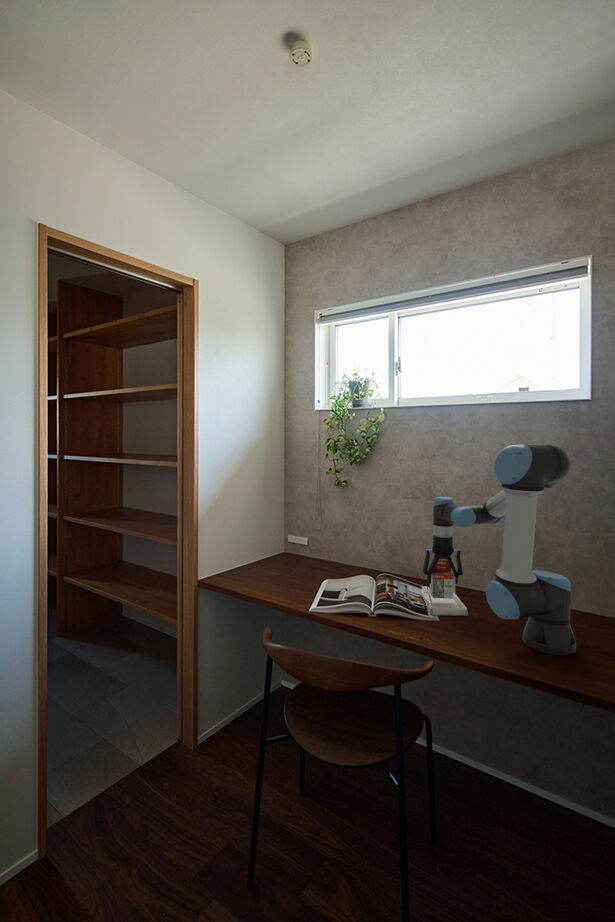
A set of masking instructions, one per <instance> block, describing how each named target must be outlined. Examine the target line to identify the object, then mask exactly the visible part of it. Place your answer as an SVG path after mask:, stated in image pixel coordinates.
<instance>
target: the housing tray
mask: <svg viewBox="0 0 615 922" xmlns="http://www.w3.org/2000/svg"><path fill="white" fill-rule="evenodd" d="M420 593H421V595H422V597H423V599H424V601H425V603H426V605H427V607H428V609H429V611H428V612H430V613H429V615H430V616H454V617H460V616H462V617H463V616H464V617H467V616H468V613H469V612H468V608H467V607H466V605H465V604H464V603H463V602H462V600H461V599H460V598H459V597H458V596H457V594H456V592H455V593H453V599H449V598H433V596H432V592H431V591H430V589H420V590H419V594H420ZM424 593H427V594H431V599H432V604H430V603H429V601H428V599H427V597H426V596H425V594H424ZM425 603H424V604H425ZM426 605H425V606H426ZM427 607H426V608H427ZM428 609H427V610H428Z"/></svg>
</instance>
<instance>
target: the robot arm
mask: <svg viewBox="0 0 615 922" xmlns="http://www.w3.org/2000/svg"><path fill="white" fill-rule="evenodd" d="M493 470H494V474H495V475H496V479H497V481H499V482H500V483H501V488H502V490H500V491H499V492H498V493H496V494H495V495H494V496H491V498H490V499H488V500H486V501H485V502H484V503H481V504H462V505H458V504H455V503H454V499H453V498H452V497H450V496H437V497H434V498H433V506H432V509H433V511H432V513H433V514H432V516H433V517H432V518H433V521H432V522H433V528H432V529H433V532H432V534H433V536H432V547H431V548H429V549H428V548H425V549H424V551H425V553H424V554H425V556H424V561H423V567H422V573H423V575H426V576H427V577H426V581H427V584H429V590H430V591H431V592H433V576H432V572H433V570H434V568H435V566H436V564H437V562H438V561H439V560H448V562H449V564H450V567H451V572H452V574H453V593H455V594H456V585H458V583H459V576H463V575H464V572H463V566H462V560H461V553H462V551H461V550H460V549H455V548H454V546H453V543H454V540H453V539H454V537H453V535H454V534H453V533H454V526H457V527H460V528H469V527H471V526H472V525H473V526H474V525H476V526H477V525H494V524H499V523H501V522H503V521H504V524H503V536H502V537H503V538H502V551H501V566H500V567H499V568H498V569H497V570H496V571H495V575H494V580H491V581H489V582H488V583H487V585H486V587H485V597H486V600H487V603H488V605H489V607H490V609H491V610H492V612H493V613H495V615H496V616H498V617H499V618H500V619H503V620H518V619H522V618H528V619H527V621H526V624H525V625H524V629H523V631H522V641H523V643H524V645H526V646H528V647H529V648H531V649H532V650H535V651H537V652H540V653H544V654H548V655H555V656H569V655H573V654H574V653H576V652H577V641H576V638H575V635H574V632H573V629H572V627H571V607H572V605H571V604H572V602H571V601H572V599H571V598H572V588H571V587H572V586H571V585H572V584H571V581H570V579H569V578H567V577H566V576H564V575H562V574H558V573H555V572H552V571H551V572H550V571H545V570H539V569H538V570H537V569H535V570H534V569H533V559H534V549H535V548H534V546H535V545H534V544H535V537H536V534H535V533H536V523H537V522H536V521H537V511H538V510H537V509H538V499H539V498H538V497H539V495H541V494H542V493H544V492H545V489H552V488H554V487H555V486H556V485H558V484H560V483H561V482H562V481H563V480H565V479H566V477H567V476H568V475H569V473H570V471H571V459H570V457H569V455H568V453H567V452H566V451H565V450H563V449H562V448H561V447H560V446H557V445H555V444H554V445H553V444H514V445H508V446H506V447H504V448H503V449H502V450H501V451H499V452H498V454H497V456H496V458H495V461H494V467H493ZM432 553H433V554H434V556H433V559H432V560H433V561H431V563H430V559H431V558H430V557H431V555H432ZM453 554H454V555H455V562H456V566H455V563H454V562H453V560H452V557H451V556H452V555H453ZM429 563H430V566H429ZM438 563H439V562H438ZM456 567H457V568H456Z"/></svg>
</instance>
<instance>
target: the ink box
mask: <svg viewBox="0 0 615 922" xmlns="http://www.w3.org/2000/svg"><path fill="white" fill-rule="evenodd" d="M432 561H433V559H432ZM432 561H431V562H432ZM441 562H442V563H441ZM453 575H454V573H453V571H452V569H451V567H450V564H449V562H448V560H447V559H439V561H438V562H437V564H436V566H435V568H434V570H433V572H432V576H433V592H432V596H433V598H449V599H453Z"/></svg>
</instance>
